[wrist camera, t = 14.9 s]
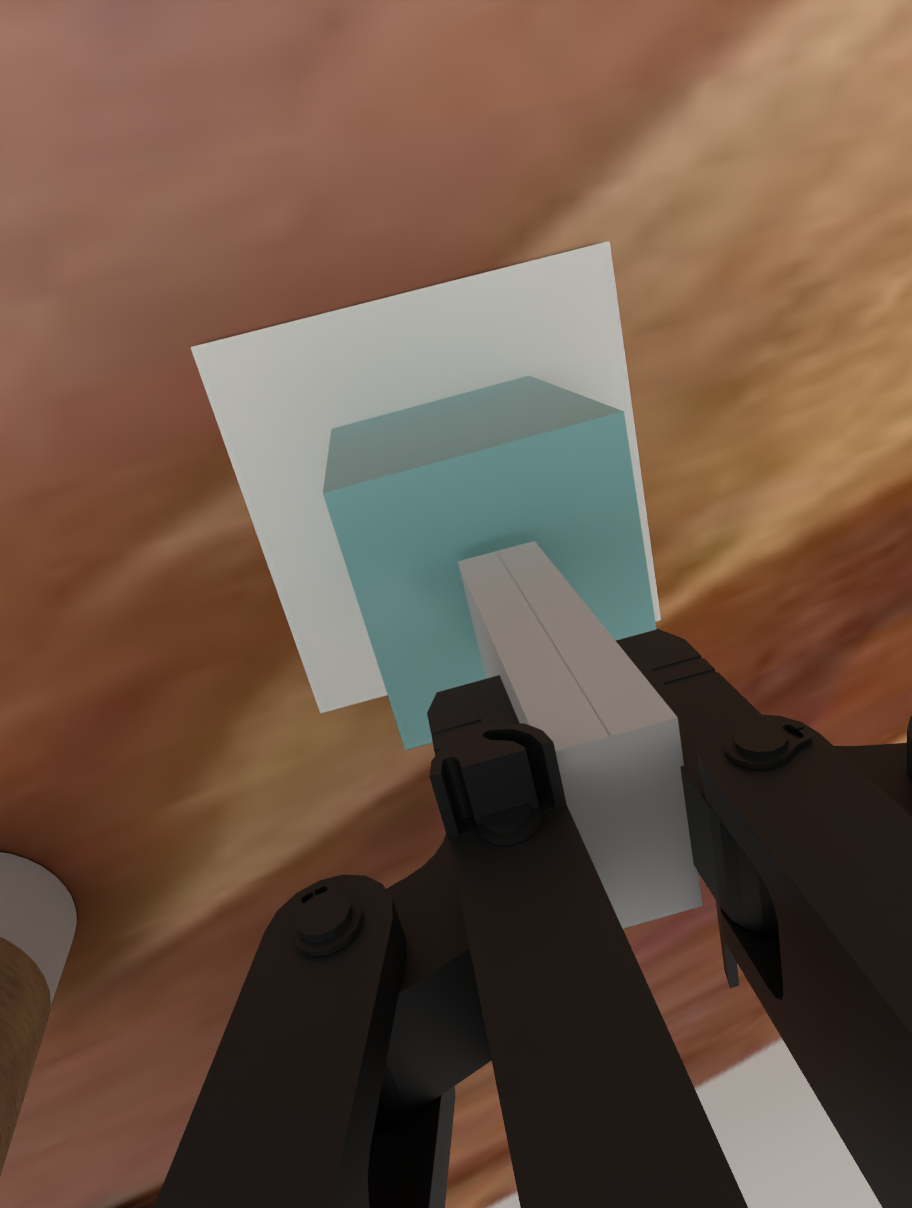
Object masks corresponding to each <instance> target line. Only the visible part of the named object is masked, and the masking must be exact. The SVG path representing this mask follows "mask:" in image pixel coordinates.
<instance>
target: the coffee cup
mask: <svg viewBox="0 0 912 1208" xmlns="http://www.w3.org/2000/svg"><path fill="white" fill-rule="evenodd" d="M76 924H77V916H76V908H75V905H74V902H73V899H72V896H71V895H70V893H69V892H68V890H67V888H66V887H65V885H64V884H63V883H62V882H61V881H60V880H59V879H58V878H57V877H56V876H55V875H54V874H52V873H51V872H49V871H48V870H47V869H45V868H44V867H42V866H41V865H39V864H37V863H35V862H32V861H30V860H28V859H26V858H23V857H20V856H16V855H13V854H9V853H3V852H0V1175H1V1172H2V1169H3V1166H4V1162H5V1159H6V1156H7V1152H8V1149H9V1146H10V1142H11V1139H12V1136H13V1133H14V1129H15V1126H16V1123H17V1119H18V1116H19V1113H20V1110H21V1106H22V1103H23V1100H24V1096H25V1093H26V1090H27V1086H28V1083H29V1080H30V1077H31V1073H32V1070H33V1067H34V1063H35V1060H36V1057H37V1054H38V1050H39V1047H40V1044H41V1040H42V1037H43V1034H44V1030H45V1027H46V1024H47V1021H48V1017H49V1012H50V1007H51V1004H52V1001H53V998H54V995H55V992H56V989H57V986H58V983H59V980H60V977H61V974H62V971H63V968H64V965H65V962H66V959H67V956H68V953H69V950H70V947H71V944H72V941H73V938H74V934H75V929H76Z"/></svg>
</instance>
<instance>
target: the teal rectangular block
mask: <svg viewBox="0 0 912 1208" xmlns="http://www.w3.org/2000/svg"><path fill="white" fill-rule="evenodd" d="M323 496H324V499H325V502H326V505H327V508H328V511H329V514H330V518H331V521H332V524H333V527H334V530H335V533H336V536H337V539H338V542H339V546H340V549H341V552H342V555H343V558H344V561H345V564H346V567H347V570H348V573H349V577H350V580H351V583H352V586H353V589H354V592H355V595H356V598H357V601H358V605H359V608H360V611H361V614H362V617H363V620H364V623H365V626H366V629H367V633H368V636H369V639H370V642H371V645H372V648H373V651H374V654H375V657H376V660H377V664H378V667H379V670H380V673H381V676H382V679H383V682H384V685H385V688H386V692H387V695H388V698H389V701H390V704H391V707H392V710H393V713H394V716H395V720H396V723H397V726H398V729H399V732H400V735H401V738H402V741H403V744H404V747H405V750H408V749H412V748H415V747H419V746H422V745H426V744H429V743H433V741H432V735H431V731H430V726H429V721H428V716H427V712H428V710H429V708H430V705H431V703H432V701H433V699H434V697H435V695H436V693H437V692H440V691H443V690H447V689H451V688H454V687H458V686H461V685H465V684H469V683H472V682H476V681H480V680H483V679H486V675H485V671H484V667H483V662H482V658H481V654H480V650H479V646H478V642H477V638H476V634H475V630H474V626H473V622H472V618H471V614H470V610H469V606H468V602H467V598H466V594H465V589H464V585H463V581H462V577H461V573H460V569H459V565H458V561H462V560H465V559H469V558H473V557H476V556H480V555H484V554H488V553H491V552H495V551H499V550H503V549H506V548H510V547H514V546H517V545H521V544H525V543H529V542H532V541H535V542H536V543H537V545H538V546H539V547H540V548H541V550H542V551H543V552H544V553H545V554H546V556H547V557H548V558H549V559H550V561H551V562H552V563H553V564H554V566H555V567H556V568H557V569H558V571H559V572H560V573H561V574H562V575H563V577H564V578H565V579H566V580H567V582H568V583H569V584H570V585H571V587H572V588H573V589H574V590H575V591H576V593H577V594H578V595H579V596H580V598H581V599H582V600H583V601H584V603H585V604H586V605H587V606H588V608H589V609H590V610H591V611H592V612H593V614H594V615H595V616H596V617H597V619H598V620H599V621H600V622H601V624H602V625H603V626H604V627H605V628H606V630H607V631H608V632H609V633H610V635H611V636H612V637H613V638H614V640H615V641H616V640H620V639H623V638H627V637H630V636H634V635H638V634H641V633H645V632H649V631H652V630H656V622H655V615H654V609H653V602H652V595H651V589H650V582H649V575H648V569H647V562H646V555H645V549H644V542H643V535H642V529H641V522H640V515H639V509H638V502H637V495H636V489H635V482H634V475H633V469H632V462H631V455H630V449H629V442H628V435H627V429H626V422H625V415H624V411H622V410H619V409H616V408H614V407H611V406H608V405H606V404H603V403H600V402H598V401H595V400H593V399H590V398H587V397H585V396H582V395H579V394H577V393H574V392H571V391H569V390H566V389H563V388H561V387H558V386H555V385H553V384H550V383H547V382H545V381H542V380H539V379H537V378H534V377H532V376H525V377H522V378H518V379H514V380H511V381H507V382H503V383H499V384H496V385H492V386H488V387H485V388H481V389H477V390H474V391H470V392H466V393H462V394H459V395H455V396H451V397H448V398H444V399H440V400H437V401H433V402H429V403H425V404H422V405H418V406H414V407H411V408H407V409H403V410H400V411H396V412H392V413H388V414H385V415H381V416H377V417H374V418H370V419H366V420H362V421H359V422H355V423H351V424H348V425H344V426H340V427H337V428H333V429H331V436H330V443H329V451H328V458H327V466H326V473H325V481H324V488H323Z"/></svg>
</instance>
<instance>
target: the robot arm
mask: <svg viewBox="0 0 912 1208" xmlns="http://www.w3.org/2000/svg"><path fill="white" fill-rule="evenodd" d="M458 565H459V569H460V573H461V577H462V581H463V585H464V589H465V594H466V598H467V602H468V606H469V610H470V614H471V618H472V622H473V626H474V630H475V634H476V638H477V642H478V646H479V650H480V654H481V658H482V662H483V667H484V671H485V675H486V679H483V680H480V681H476V682H472V683H469V684H465V685H461V686H458V687H454V688H451V689H447V690H443V691H440V692H437V693H436V695H435V697H434V699H433V701H432V703H431V705H430V708H429V710H428V712H427V716H428V721H429V726H430V731H431V735H432V741H433V746H434V751H435V757H434V759H433V760H432V762H431V769H430V780H431V783H432V787H433V790H434V793H435V797H436V800H437V803H438V807H439V810H440V813H441V817H442V820H443V823H444V827H445V830H446V836H445V839H444V841H443V843H442V844H441V846H440V848H439V849H438V851H437V852H436V854H435V855H434V856H433V857H432V858H431V859H430V860H429V861H428V862H427V863H426V864H425V865H424V866H423V867H421V868H420V869H418V870H417V871H415V872H414V873H412V874H411V875H409V876H408V877H406V878H405V879H403V880H401V881H399V882H398V883H396V884H394V885H392V886H390V887H389V888H387V889H385V887H384V886H383V884H381V883H379V882H377V881H375V880H373V879H371V878H369V877H367V876H362V875H340V876H336V877H332V878H328V879H324V880H320V881H318V882H316V883H314V884H313V885H311V886H309V887H307V888H305V889H303V890H301V891H300V892H298V893H296V894H295V895H294V896H293V897H292V898H291V899H290V900H289V901H288V902H286V903H285V904H284V905H283V906H282V907H281V908H280V909H279V910H278V911H277V912H276V914H275V916H274V917H273V919H272V921H271V922H270V924H269V925H268V927H267V929H266V930H265V932H264V935H263V937H262V940H261V942H260V945H259V947H258V950H257V952H256V955H255V957H254V960H253V962H252V965H251V967H250V970H249V972H248V975H247V977H246V980H245V982H244V985H243V987H242V990H241V992H240V995H239V997H238V1000H237V1002H236V1005H235V1007H234V1010H233V1012H232V1015H231V1017H230V1020H229V1022H228V1025H227V1027H226V1030H225V1032H224V1035H223V1037H222V1040H221V1042H220V1044H219V1047H218V1049H217V1052H216V1054H215V1057H214V1059H213V1062H212V1064H211V1067H210V1069H209V1072H208V1074H207V1077H206V1079H205V1082H204V1084H203V1087H202V1089H201V1092H200V1094H199V1097H198V1099H197V1102H196V1104H195V1107H194V1109H193V1112H192V1114H191V1117H190V1119H189V1122H188V1124H187V1127H186V1129H185V1132H184V1134H183V1137H182V1139H181V1142H180V1144H179V1147H178V1149H177V1152H176V1154H175V1157H174V1159H173V1162H172V1164H171V1167H170V1169H169V1172H168V1174H167V1177H166V1179H165V1182H164V1184H163V1187H162V1189H161V1192H160V1194H159V1197H158V1199H157V1201H156V1204H155V1206H154V1208H445V1199H446V1189H447V1178H448V1167H449V1157H450V1146H451V1136H452V1125H453V1114H454V1104H455V1087H454V1086H455V1085H456V1084H458V1083H459V1082H461V1081H462V1080H464V1079H465V1078H466V1077H468V1076H469V1075H471V1074H472V1073H474V1072H475V1071H476V1070H478V1069H479V1068H481V1067H482V1066H484V1065H485V1064H487V1063H488V1062H489V1061H491V1060H492V1064H493V1069H494V1074H495V1079H496V1084H497V1089H498V1094H499V1100H500V1105H501V1110H502V1115H503V1120H504V1125H505V1130H506V1135H507V1140H508V1145H509V1150H510V1155H511V1160H512V1166H513V1171H514V1176H515V1181H516V1186H517V1191H518V1196H519V1201H520V1206H521V1208H748V1207H747V1204H746V1202H745V1200H744V1198H743V1195H742V1193H741V1191H740V1189H739V1187H738V1184H737V1182H736V1180H735V1178H734V1175H733V1173H732V1171H731V1169H730V1167H729V1164H728V1162H727V1160H726V1158H725V1155H724V1153H723V1151H722V1149H721V1147H720V1144H719V1142H718V1140H717V1138H716V1135H715V1133H714V1131H713V1129H712V1127H711V1124H710V1122H709V1120H708V1118H707V1115H706V1113H705V1111H704V1109H703V1106H702V1105H701V1102H700V1100H699V1098H698V1095H697V1093H696V1091H695V1089H694V1086H693V1084H692V1082H691V1080H690V1078H689V1075H688V1073H687V1071H686V1069H685V1066H684V1064H683V1062H682V1060H681V1058H680V1055H679V1053H678V1051H677V1049H676V1046H675V1044H674V1042H673V1040H672V1038H671V1035H670V1033H669V1031H668V1029H667V1026H666V1024H665V1022H664V1020H663V1018H662V1015H661V1013H660V1011H659V1009H658V1006H657V1004H656V1002H655V1000H654V998H653V995H652V993H651V991H650V989H649V986H648V984H647V982H646V980H645V978H644V975H643V973H642V971H641V969H640V966H639V964H638V962H637V960H636V958H635V955H634V953H633V951H632V949H631V946H630V944H629V942H628V940H627V938H626V935H625V933H624V931H623V929H624V928H627V927H631V926H634V925H638V924H641V923H645V922H648V921H651V920H655V919H658V918H662V917H665V916H669V915H672V914H676V913H679V912H682V911H686V910H689V909H693V908H696V907H700V906H703V904H702V897H701V889H700V882H699V874H700V875H701V877H702V879H703V880H704V882H705V883H706V885H707V887H708V888H709V890H710V891H711V893H712V895H713V896H714V898H715V899H716V906H717V914H718V922H719V930H720V938H721V946H722V954H723V962H724V970H725V974H726V977H727V980H728V983H729V986H730V988H732V987H736V986H739V979H738V970H737V963H738V965H739V967H740V968H741V970H742V972H743V973H744V975H745V977H746V978H747V980H748V982H749V983H750V985H751V987H752V988H753V990H754V992H755V994H756V995H757V997H758V999H759V1000H760V1002H761V1004H762V1005H763V1007H764V1009H765V1010H766V1012H767V1014H768V1015H769V1017H770V1019H771V1020H772V1022H773V1024H774V1026H775V1027H776V1029H777V1031H778V1032H779V1034H780V1036H781V1037H782V1039H783V1041H784V1042H785V1044H786V1046H787V1047H788V1049H789V1051H790V1052H791V1054H792V1056H793V1057H794V1059H795V1061H796V1063H797V1064H798V1066H799V1068H800V1069H801V1071H802V1073H803V1074H804V1076H805V1078H806V1079H807V1081H808V1083H809V1084H810V1086H811V1088H812V1089H813V1091H814V1093H815V1094H816V1096H817V1098H818V1100H819V1101H820V1103H821V1105H822V1106H823V1108H824V1110H825V1111H826V1113H827V1115H828V1116H829V1118H830V1120H831V1121H832V1123H833V1125H834V1126H835V1128H836V1130H837V1131H838V1133H839V1135H840V1137H841V1138H842V1140H843V1141H844V1143H845V1145H846V1147H847V1148H848V1150H849V1152H850V1153H851V1155H852V1156H853V1158H854V1160H855V1162H856V1163H857V1165H858V1167H859V1168H860V1170H861V1172H862V1174H863V1175H864V1177H865V1179H866V1180H867V1182H868V1184H869V1185H870V1187H871V1189H872V1191H873V1192H874V1194H875V1196H876V1197H877V1199H878V1201H879V1202H880V1204H881V1206H882V1207H883V1208H912V716H911V717H910V720H909V725H908V729H907V743H899V744H883V745H867V746H833V745H832V744H831V743H830V742H828V741H827V740H826V739H825V738H824V737H823V736H822V735H821V734H820V733H818V732H817V731H815V730H813V729H812V728H810V727H808V726H807V725H805V724H804V723H802V722H799V721H795V720H792V719H788V718H785V717H781V716H771V715H761V714H760V713H759V712H758V711H757V710H756V709H755V708H754V707H753V706H752V705H751V704H750V703H749V702H748V701H747V700H746V699H745V698H744V697H743V696H742V695H741V694H740V693H739V692H738V691H737V690H736V689H735V688H734V687H733V686H732V685H731V684H730V683H729V682H728V681H727V680H726V679H725V678H724V677H723V676H722V675H720V674H719V673H718V672H717V673H716V672H715V669H714V668H713V667H712V666H711V665H710V664H709V663H708V662H707V661H706V660H705V659H702V658H701V655H700V654H699V653H698V652H697V651H696V650H695V649H694V648H693V647H692V646H691V645H690V644H689V643H688V642H687V641H686V640H685V639H682V638H680V637H677V636H675V635H672V634H669V633H667V632H664V631H661V630H659V629H656V630H652V631H649V632H645V633H641V634H638V635H634V636H630V637H627V638H623V639H620V640H616V641H615V640H614V638H613V637H612V636H611V635H610V633H609V632H608V631H607V630H606V628H605V627H604V626H603V625H602V624H601V622H600V621H599V620H598V619H597V617H596V616H595V615H594V614H593V612H592V611H591V610H590V609H589V608H588V606H587V605H586V604H585V603H584V601H583V600H582V599H581V598H580V596H579V595H578V594H577V593H576V591H575V590H574V589H573V588H572V587H571V585H570V584H569V583H568V582H567V580H566V579H565V578H564V577H563V575H562V574H561V573H560V572H559V571H558V569H557V568H556V567H555V566H554V564H553V563H552V562H551V561H550V559H549V558H548V557H547V556H546V554H545V553H544V552H543V551H542V550H541V548H540V547H539V546H538V545H537V543H536V542H535V541H532V542H529V543H525V544H521V545H517V546H514V547H510V548H506V549H503V550H499V551H495V552H491V553H488V554H484V555H480V556H476V557H473V558H469V559H465V560H462V561H458ZM698 872H699V874H698Z"/></svg>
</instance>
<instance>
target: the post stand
mask: <svg viewBox="0 0 912 1208" xmlns="http://www.w3.org/2000/svg"><path fill="white" fill-rule="evenodd" d="M191 350H192V353H193V356H194V359H195V361H196V364H197V367H198V370H199V373H200V376H201V378H202V381H203V384H204V387H205V390H206V392H207V395H208V398H209V401H210V404H211V407H212V409H213V412H214V415H215V418H216V421H217V423H218V426H219V429H220V432H221V435H222V438H223V440H224V443H225V446H226V449H227V452H228V454H229V457H230V460H231V463H232V466H233V469H234V471H235V474H236V477H237V480H238V483H239V485H240V488H241V491H242V494H243V497H244V500H245V502H246V505H247V508H248V511H249V514H250V516H251V519H252V522H253V525H254V528H255V531H256V533H257V536H258V539H259V542H260V545H261V547H262V550H263V553H264V556H265V559H266V561H267V564H268V567H269V570H270V573H271V576H272V578H273V581H274V584H275V587H276V590H277V592H278V595H279V598H280V601H281V604H282V607H283V609H284V612H285V615H286V618H287V621H288V623H289V626H290V629H291V632H292V635H293V638H294V640H295V643H296V646H297V649H298V652H299V654H300V657H301V660H302V663H303V666H304V669H305V671H306V674H307V677H308V680H309V683H310V685H311V688H312V691H313V694H314V697H315V700H316V702H317V705H318V708H319V711H320V713H324V712H328V711H331V710H335V709H339V708H342V707H346V706H349V705H353V704H357V703H360V702H364V701H368V700H371V699H375V698H379V697H382V696H386V695H387V692H386V688H385V685H384V682H383V679H382V676H381V673H380V670H379V667H378V664H377V660H376V657H375V654H374V651H373V648H372V645H371V642H370V639H369V636H368V633H367V629H366V626H365V623H364V620H363V617H362V614H361V611H360V608H359V605H358V601H357V598H356V595H355V592H354V589H353V586H352V583H351V580H350V577H349V573H348V570H347V567H346V564H345V561H344V558H343V555H342V552H341V549H340V546H339V542H338V539H337V536H336V533H335V530H334V527H333V524H332V521H331V518H330V514H329V511H328V508H327V505H326V502H325V499H324V496H323V488H324V481H325V473H326V466H327V458H328V451H329V443H330V436H331V429H333V428H337V427H340V426H344V425H348V424H351V423H355V422H359V421H362V420H366V419H370V418H374V417H377V416H381V415H385V414H388V413H392V412H396V411H400V410H403V409H407V408H411V407H414V406H418V405H422V404H425V403H429V402H433V401H437V400H440V399H444V398H448V397H451V396H455V395H459V394H462V393H466V392H470V391H474V390H477V389H481V388H485V387H488V386H492V385H496V384H499V383H503V382H507V381H511V380H514V379H518V378H522V377H525V376H532V377H534V378H537V379H539V380H542V381H545V382H547V383H550V384H553V385H555V386H558V387H561V388H563V389H566V390H569V391H571V392H574V393H577V394H579V395H582V396H585V397H587V398H590V399H593V400H595V401H598V402H600V403H603V404H606V405H608V406H611V407H614V408H616V409H619V410H622V411H624V415H625V422H626V429H627V435H628V442H629V449H630V455H631V462H632V469H633V475H634V482H635V489H636V495H637V502H638V509H639V515H640V522H641V529H642V535H643V542H644V549H645V555H646V562H647V569H648V575H649V582H650V589H651V595H652V602H653V609H654V615H655V622H657V621H660V620H661V617H660V609H659V602H658V594H657V587H656V580H655V572H654V565H653V558H652V550H651V543H650V536H649V528H648V521H647V513H646V506H645V499H644V491H643V484H642V477H641V469H640V462H639V454H638V447H637V440H636V432H635V425H634V418H633V410H632V403H631V395H630V388H629V381H628V373H627V366H626V359H625V351H624V344H623V336H622V329H621V322H620V314H619V307H618V300H617V292H616V285H615V278H614V270H613V263H612V255H611V248H610V241H607V242H603V243H599V244H596V245H592V246H588V247H584V248H580V249H576V250H572V251H568V252H564V253H560V254H556V255H552V256H548V257H544V258H540V259H536V260H532V261H528V262H525V263H521V264H517V265H513V266H509V267H505V268H501V269H497V270H493V271H489V272H485V273H481V274H477V275H473V276H469V277H465V278H461V279H458V280H454V281H450V282H446V283H442V284H438V285H434V286H430V287H426V288H422V289H418V290H414V291H410V292H406V293H402V294H398V295H394V296H390V297H387V298H383V299H379V300H375V301H371V302H367V303H363V304H359V305H355V306H351V307H347V308H343V309H339V310H335V311H331V312H327V313H323V314H319V315H316V316H312V317H308V318H304V319H300V320H296V321H292V322H288V323H284V324H280V325H276V326H272V327H268V328H264V329H260V330H256V331H252V332H248V333H245V334H241V335H237V336H233V337H229V338H225V339H221V340H217V341H213V342H209V343H205V344H201V345H197V346H193V347H191Z"/></svg>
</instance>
